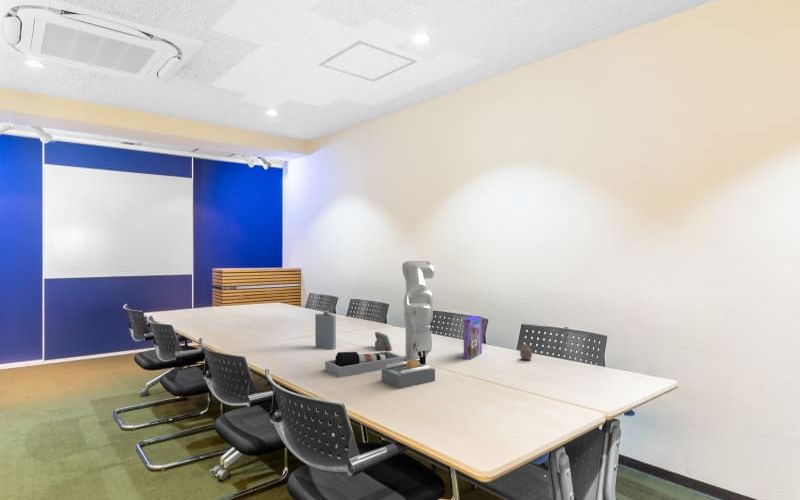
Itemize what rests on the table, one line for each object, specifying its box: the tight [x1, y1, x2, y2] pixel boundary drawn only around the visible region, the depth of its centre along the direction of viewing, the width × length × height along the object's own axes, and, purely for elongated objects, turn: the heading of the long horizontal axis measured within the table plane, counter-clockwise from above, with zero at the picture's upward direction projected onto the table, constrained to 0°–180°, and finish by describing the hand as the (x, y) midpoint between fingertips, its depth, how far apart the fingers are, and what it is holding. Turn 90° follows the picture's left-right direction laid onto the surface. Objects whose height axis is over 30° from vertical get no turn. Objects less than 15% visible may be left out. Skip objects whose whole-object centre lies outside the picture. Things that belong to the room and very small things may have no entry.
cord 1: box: [386, 360, 407, 369], centre depth 234 cm, size 18×2×2 cm, turn 124°
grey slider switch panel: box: [381, 362, 436, 389], centre depth 229 cm, size 22×16×6 cm
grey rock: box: [374, 331, 393, 352], centre depth 301 cm, size 16×9×11 cm, turn 19°
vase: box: [519, 344, 533, 361], centre depth 270 cm, size 7×7×9 cm
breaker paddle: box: [407, 360, 419, 369], centre depth 230 cm, size 4×4×4 cm
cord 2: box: [401, 364, 432, 375], centre depth 223 cm, size 18×2×2 cm, turn 124°
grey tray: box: [324, 350, 404, 378], centre depth 253 cm, size 41×17×5 cm, turn 124°
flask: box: [314, 310, 337, 351], centre depth 305 cm, size 17×5×25 cm, turn 55°
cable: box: [334, 351, 390, 367], centre depth 254 cm, size 10×34×10 cm, turn 120°
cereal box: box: [463, 315, 483, 360], centre depth 280 cm, size 17×5×24 cm, turn 148°
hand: (422, 363), depth 234 cm, fingers closed
